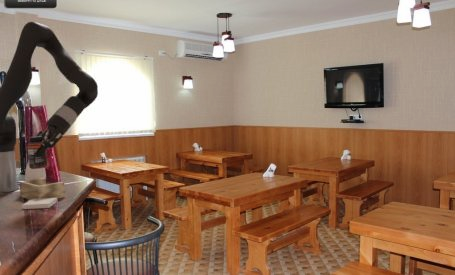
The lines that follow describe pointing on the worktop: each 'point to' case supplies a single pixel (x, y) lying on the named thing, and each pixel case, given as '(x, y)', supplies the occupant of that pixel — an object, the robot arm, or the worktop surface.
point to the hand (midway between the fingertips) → (32, 155)
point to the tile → (39, 203)
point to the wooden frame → (41, 189)
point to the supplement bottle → (33, 159)
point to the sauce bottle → (34, 173)
